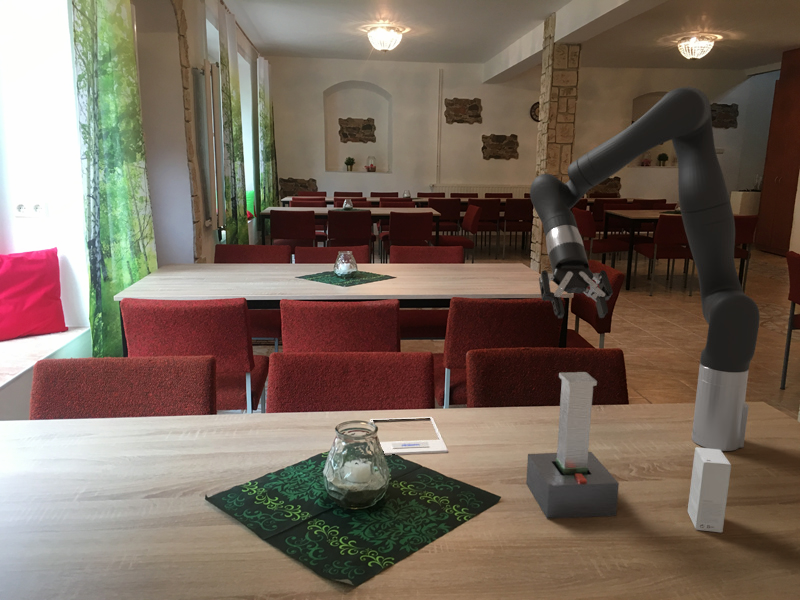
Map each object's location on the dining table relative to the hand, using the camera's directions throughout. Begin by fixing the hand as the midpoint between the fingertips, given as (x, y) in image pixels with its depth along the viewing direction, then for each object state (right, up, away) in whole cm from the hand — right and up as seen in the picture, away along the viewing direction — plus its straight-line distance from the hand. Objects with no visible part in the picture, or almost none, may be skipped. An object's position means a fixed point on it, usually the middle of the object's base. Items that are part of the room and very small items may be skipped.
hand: (582, 316), depth 127 cm
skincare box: (+14, -34, -21) cm, 42 cm away
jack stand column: (-6, -27, -15) cm, 31 cm away
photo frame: (-35, -27, +12) cm, 46 cm away
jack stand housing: (-6, -32, -14) cm, 36 cm away
